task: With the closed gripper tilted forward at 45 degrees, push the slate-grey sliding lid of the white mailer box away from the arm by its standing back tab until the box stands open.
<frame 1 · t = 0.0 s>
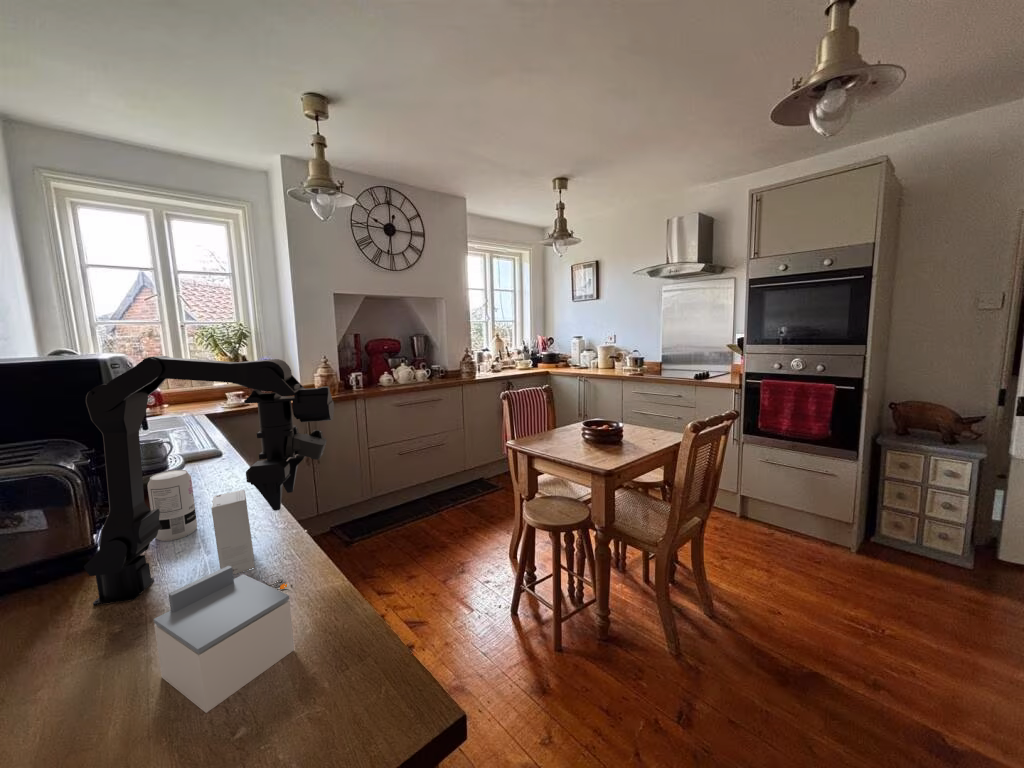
hand: (283, 500, 84), 15 cm above the worktop, tool pointing down, fingers open, 9 cm apart
skincare box: (237, 566, 88), on the worktop
mailer box: (230, 663, 61), on the worktop
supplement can: (176, 534, 102), on the worktop
lid: (223, 600, 60), point 10 cm above the worktop, slide at 0.0 cm
key chain: (272, 593, 79), on the worktop
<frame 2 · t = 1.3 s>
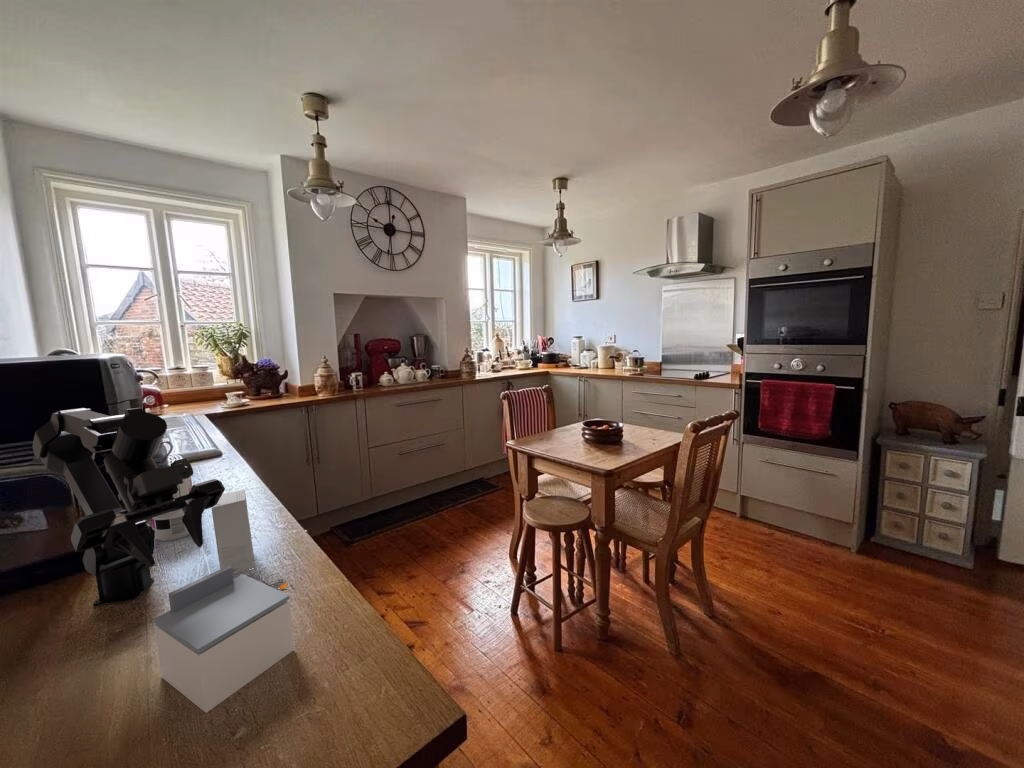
hand: (178, 555, 66), 14 cm above the worktop, tool tilted 45°, fingers open, 6 cm apart
nothing on the worktop moved.
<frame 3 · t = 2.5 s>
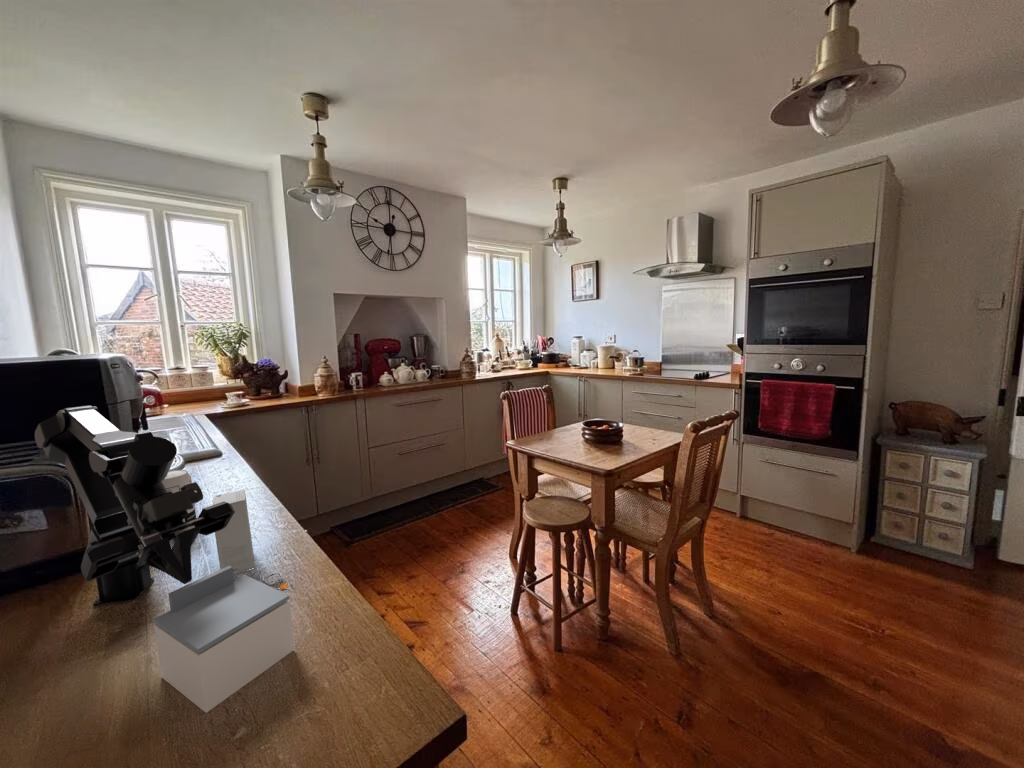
hand: (188, 581, 65), 10 cm above the worktop, tool tilted 45°, fingers closed
nothing on the worktop moved.
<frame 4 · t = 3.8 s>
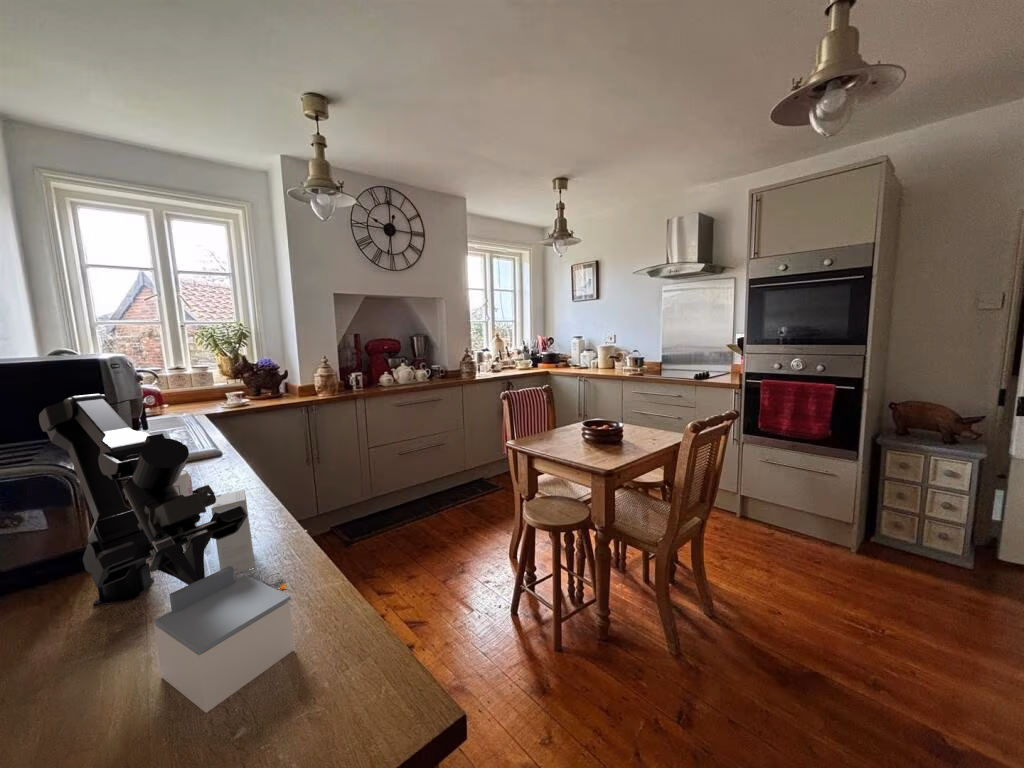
hand: (201, 587, 63), 10 cm above the worktop, tool tilted 45°, fingers closed, pressing on lid
lid: (224, 600, 60), point 10 cm above the worktop, slide at 0.3 cm, touching gripper
everything else where it was.
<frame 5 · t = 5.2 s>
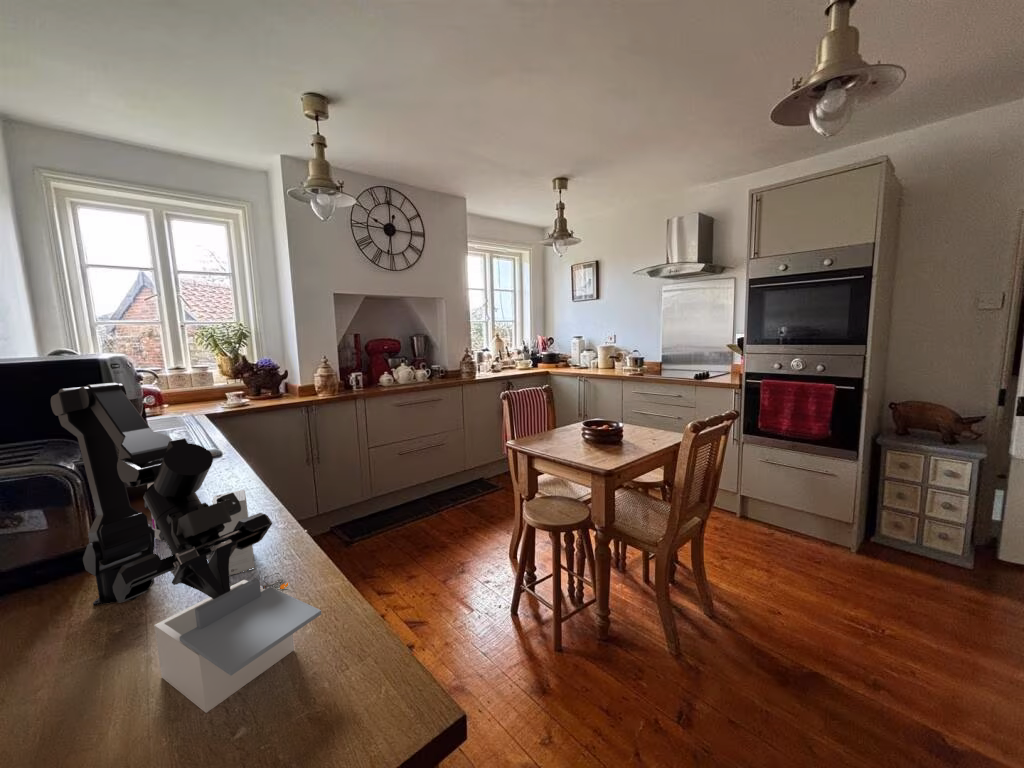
hand: (227, 601, 60), 10 cm above the worktop, tool tilted 45°, fingers closed, pressing on lid
lid: (252, 616, 57), point 10 cm above the worktop, slide at 7.3 cm, touching gripper
everything else where it was.
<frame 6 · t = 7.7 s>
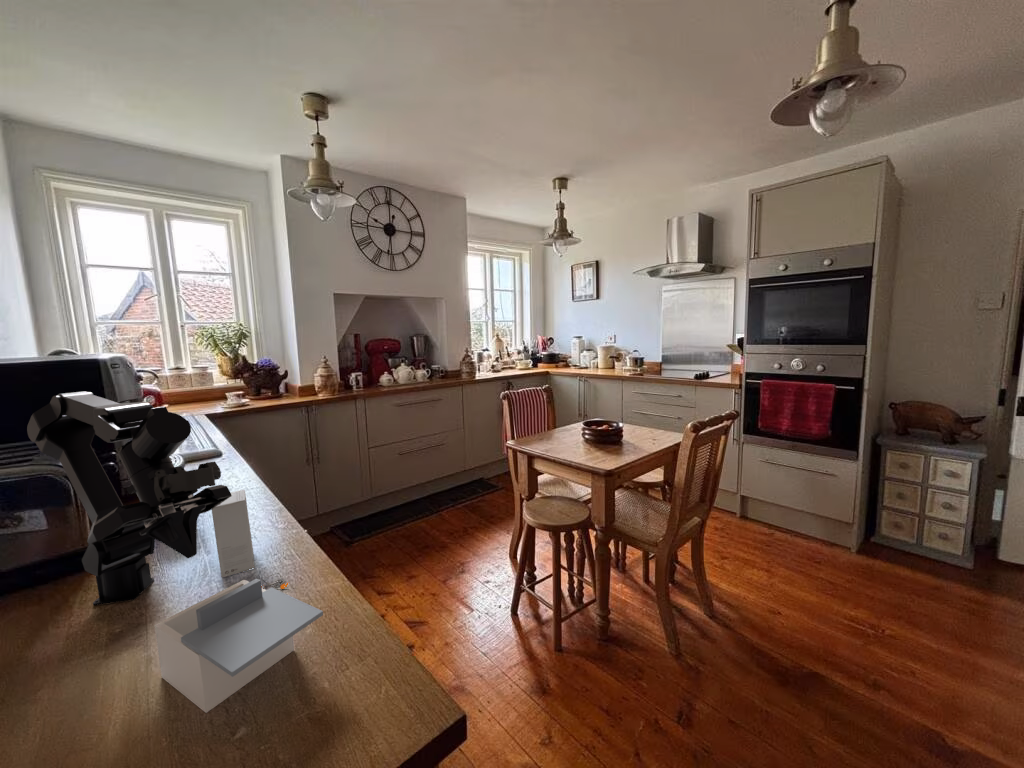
hand: (192, 556, 67), 13 cm above the worktop, tool tilted 35°, fingers closed
lid: (253, 616, 56), point 10 cm above the worktop, slide at 7.7 cm
everything else where it was.
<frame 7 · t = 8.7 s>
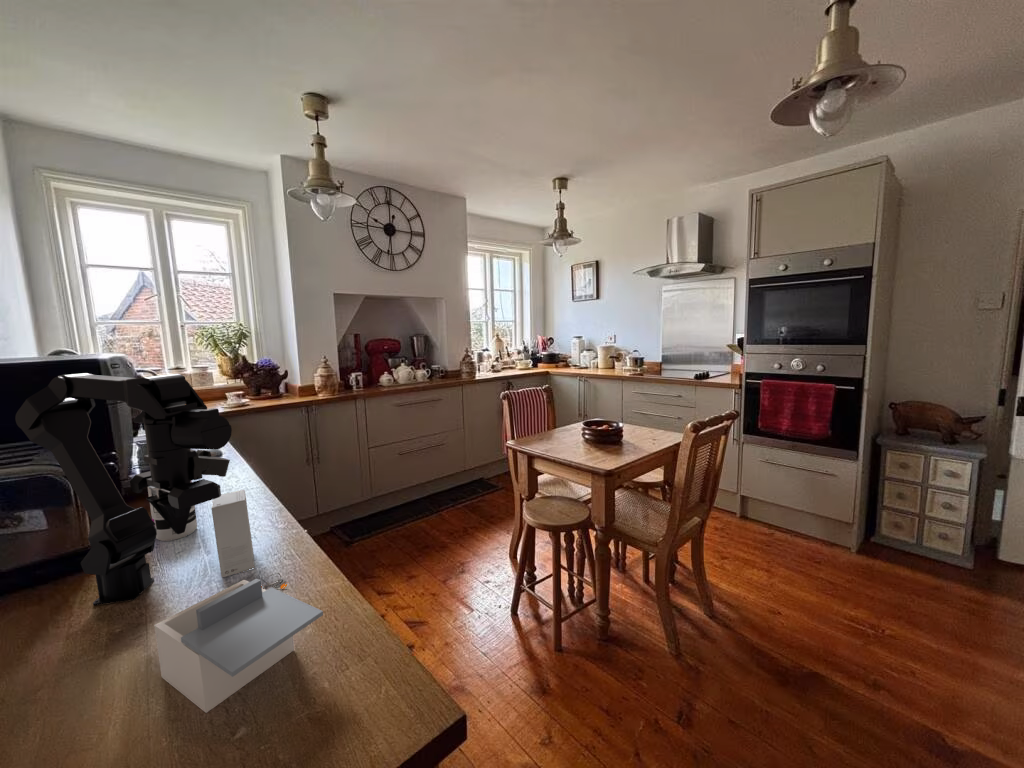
hand: (180, 532, 75), 13 cm above the worktop, tool pointing down, fingers closed
nothing on the worktop moved.
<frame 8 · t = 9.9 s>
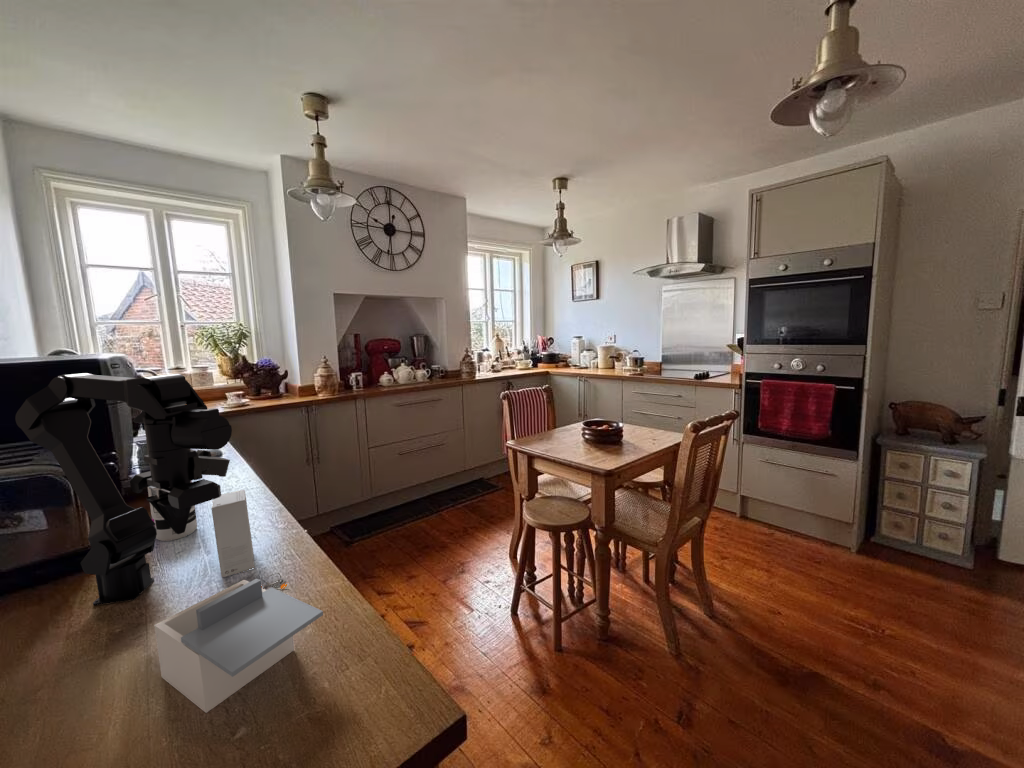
hand: (180, 532, 75), 13 cm above the worktop, tool pointing down, fingers closed
nothing on the worktop moved.
at the end: lid slide at 7.7 cm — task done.
